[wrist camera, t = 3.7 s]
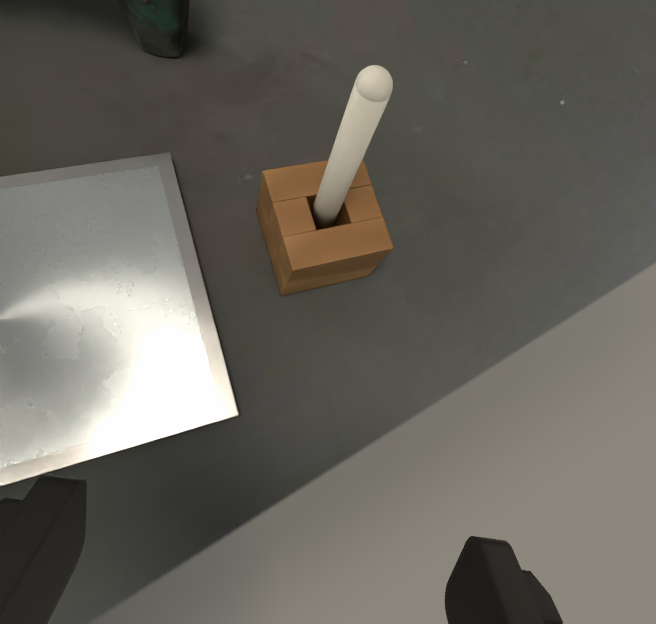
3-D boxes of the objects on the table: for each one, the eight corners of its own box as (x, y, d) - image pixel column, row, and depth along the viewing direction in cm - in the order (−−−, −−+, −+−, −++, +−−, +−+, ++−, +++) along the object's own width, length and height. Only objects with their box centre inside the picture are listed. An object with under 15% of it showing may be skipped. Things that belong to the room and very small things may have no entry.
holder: (255, 209, 32) (262, 170, 28) (341, 194, 34) (361, 154, 29) (281, 296, 31) (292, 270, 27) (368, 275, 33) (394, 248, 28)
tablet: (-255, 223, 26) (-275, 214, 25) (171, 160, 32) (169, 150, 31) (-227, 554, 23) (-248, 560, 22) (238, 416, 29) (239, 415, 28)
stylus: (298, 235, 33) (354, 57, 19) (319, 230, 33) (390, 53, 19) (304, 255, 32) (367, 90, 18) (326, 251, 33) (404, 86, 19)
